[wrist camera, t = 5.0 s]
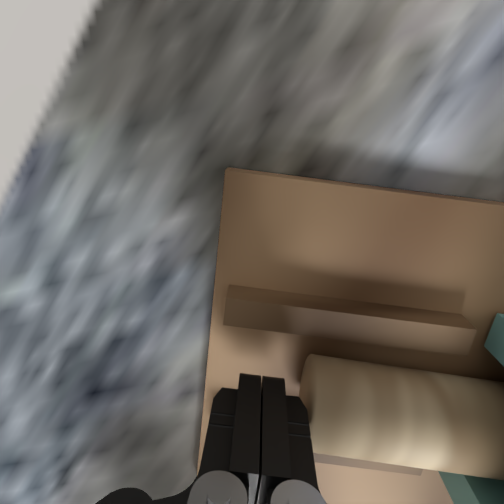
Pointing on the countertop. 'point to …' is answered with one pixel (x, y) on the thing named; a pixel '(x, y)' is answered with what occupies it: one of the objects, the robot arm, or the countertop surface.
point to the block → (471, 487)
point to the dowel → (404, 416)
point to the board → (353, 298)
